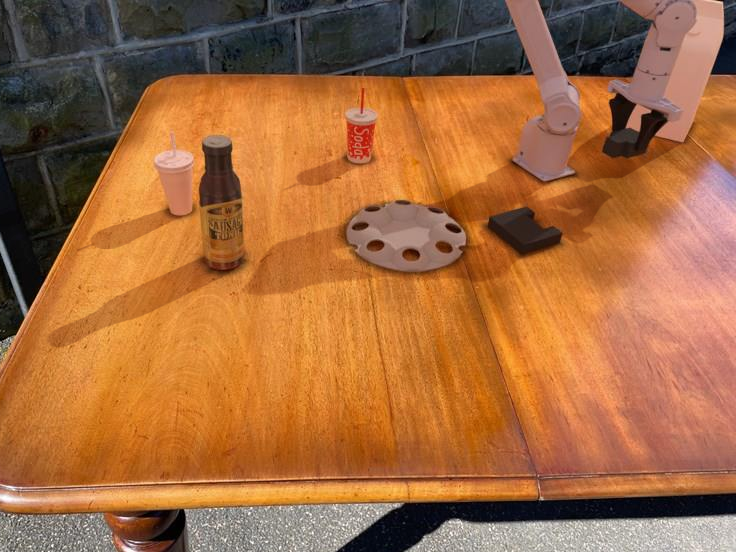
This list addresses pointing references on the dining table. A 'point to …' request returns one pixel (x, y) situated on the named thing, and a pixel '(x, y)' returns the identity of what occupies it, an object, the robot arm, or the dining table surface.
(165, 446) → the dining table surface
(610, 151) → the black notched block
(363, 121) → the beverage cup
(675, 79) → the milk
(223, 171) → the sauce bottle
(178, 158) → the smoothie
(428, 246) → the paint palette
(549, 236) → the black pad
